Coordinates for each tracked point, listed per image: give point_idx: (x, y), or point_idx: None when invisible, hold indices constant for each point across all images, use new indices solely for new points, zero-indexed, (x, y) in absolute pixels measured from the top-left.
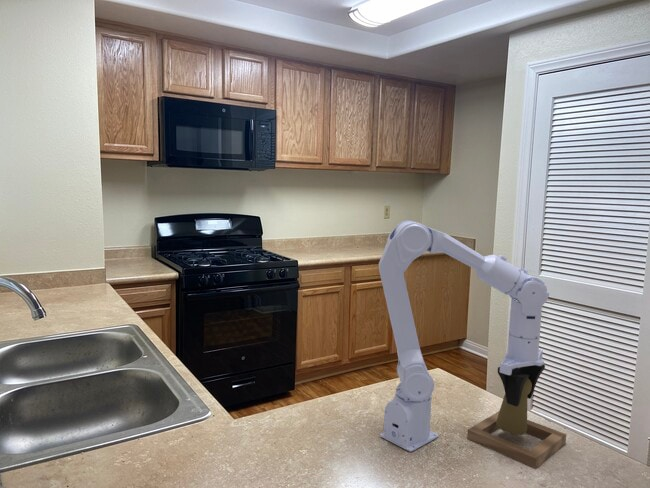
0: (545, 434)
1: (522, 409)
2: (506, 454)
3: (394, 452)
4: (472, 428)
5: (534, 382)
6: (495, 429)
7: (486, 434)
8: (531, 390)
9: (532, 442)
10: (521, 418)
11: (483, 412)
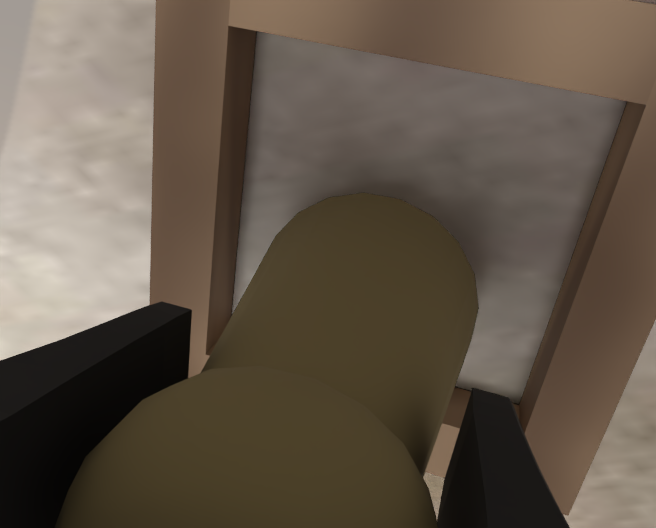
0: (234, 74)
1: (396, 319)
2: None
3: None
4: None
5: (47, 397)
6: None
7: (569, 413)
8: (134, 352)
9: (340, 134)
10: (417, 279)
11: None
